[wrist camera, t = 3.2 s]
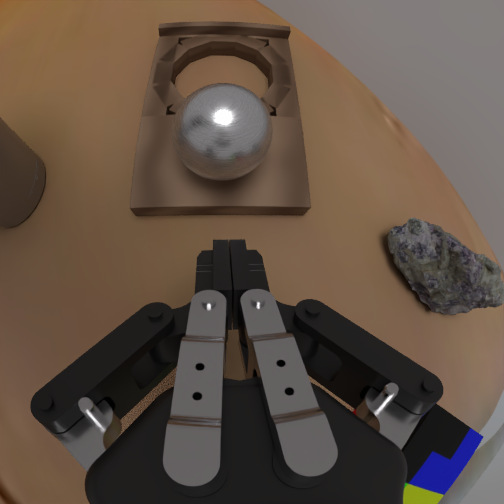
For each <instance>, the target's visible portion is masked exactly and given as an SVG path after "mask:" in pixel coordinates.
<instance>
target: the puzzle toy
mask: <svg viewBox="0 0 504 504" xmlns="http://www.w3.org/2000/svg"><path fill="white" fill-rule="evenodd" d="M353 413H354V414H355V415H356V409H355V410H354V411H353ZM482 438H483V436H481V435H480V434H479V433H477V432H476V431H474V430H473V429H472V428H470V427H469V426H467V425H466V424H464V423H463V422H462V421H460V420H459V419H457V418H456V417H454V416H453V415H452V414H450V413H449V412H447V411H446V410H445V409H443V408H442V407H440V406H439V405H437V404H435V405H434V406H433V407H432V408H431V409H430V410H428V411H427V412H426V413H425V414H424V415H423V416H422V417H421V418H420V420H419V421H418V423H417V425H416V427H415V428H414V430H413V432H412V433H411V435H410V437H409V438H408V440H407V442H406V443H405V445H404V446H403V448H402V450H401V451H402V452H403V454H404V456H405V458H406V462H407V478H406V482H405V486H404V493H403V504H437V503H438V502H439V501H440V499H441V498H442V497H443V496H444V494H445V493H446V492H447V491H448V489H449V488H450V487H451V485H452V484H453V483H454V481H455V480H456V478H457V477H458V476H459V474H460V473H461V471H462V470H463V469H464V467H465V466H466V464H467V463H468V461H469V460H470V458H471V457H472V455H473V453H474V452H475V450H476V449H477V447H478V445H479V443H480V442H481V440H482Z"/></svg>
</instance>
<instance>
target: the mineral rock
mask: <svg viewBox="0 0 504 504" xmlns="http://www.w3.org/2000/svg"><path fill="white" fill-rule="evenodd" d="M387 241H388V246H389V250H390V253H391V254H393V257H394V263H395V265H396V266H397V267H398V269H399V270H400V271H401V272H402V273H403V274H404V276H405V278H406V279H407V280H408V282H409V284H410V286H411V288H412V290H414V291H416V292H417V293H418V294H419V297H420V300H421V301H422V302H423V303H426V304H427V305H428V306H429V307H430V309H431V310H432V311H433V312H439V311H440V312H441V313H443V314H449V315H453V314H454V315H455V314H457V313H467V312H469V311H470V310H472V309H474V308H478V307H479V308H486V307H488V306H489V307H498V306H500V305H502V304H503V303H504V283H503V281H502V279H501V278H500V274H501V270H502V269H501V268H500V267H499V266H498V265H497V264H496V263H495V262H493V261H491V260H490V259H489V258H487V257H486V256H485V255H483V254H475V253H474V252H473V251H471V250H469V249H468V248H467V247H466V246H465V245H463V244H462V243H461V242H460V241H459V240H458V239H457V238H455V237H454V236H453V235H451V234H450V233H447V232H444V231H443V229H442V228H441V227H440V226H436V225H434V224H432V225H431V224H429V223H428V222H425V221H422V220H419V219H416V218H410V219H409V220H408V221H407V223H406V224H404V225H403V226H399V227H397V226H395V227H393V228H392V229H391V230H390V232H389V234H388V237H387Z"/></svg>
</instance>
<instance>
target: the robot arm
mask: <svg viewBox="0 0 504 504" xmlns="http://www.w3.org/2000/svg"><path fill="white" fill-rule="evenodd" d="M44 185H45V168H44V164H43V162H42V160H41V159H40V158H39V157H38V156H37V155H36V154H35V153H34V152H33V151H32V150H31V149H30V148H29V147H28V146H27V145H26V144H25V142H24V141H23V140H22V139H21V138H20V137H19V136H18V135H17V134H16V133H15V132H14V131H13V130H12V129H11V128H10V127H9V126H8V125H7V124H6V123H5V122H4V121H3V120H2V119H1V117H0V226H1V227H5V228H8V227H13V226H16V225H18V224H20V223H21V222H23V221H24V220H25V219H26V218H27V217H28V216H29V215H30V214H31V213H32V211H33V210H34V209H35V207H36V205H37V204H38V202H39V200H40V197H41V195H42V192H43V188H44ZM232 322H233V329H238V331H239V348H240V354H241V359H242V364H243V369H244V373H245V379H246V380H242V381H238V380H232V379H226V378H225V377H226V342H227V340H228V330H232ZM176 366H177V371H176V378H175V385H174V387H172V388H170V389H168V390H166V391H164V392H163V393H162V394H160V395H159V396H158V397H157V398H156V399H155V400H154V401H153V402H152V403H151V404H150V405H149V406H148V407H147V408H146V409H145V410H144V411H143V412H142V414H141V415H140V416H139V417H138V418H137V419H136V420H135V421H134V422H133V423H132V424H131V425H130V426H129V427H128V428H127V429H126V430H125V431H124V432H123V433H122V434H121V435H120V433H121V429H122V425H121V421H120V420H121V419H122V418H123V417H124V416H125V415H126V414H127V413H128V412H129V411H130V410H131V409H132V408H133V407H134V406H136V405H137V404H138V403H139V402H140V401H141V400H142V399H143V398H144V397H145V396H146V395H147V394H148V393H149V392H150V391H151V390H152V389H153V388H154V387H155V386H157V385H158V384H159V383H160V382H161V381H162V380H163V379H164V378H165V377H166V376H167V375H168V374H169V373H170V372H171V371H172V370H173V369H174V368H175V367H176ZM307 374H308V375H309V376H310V377H312V378H313V379H314V380H316V381H317V382H318V383H320V384H321V385H322V386H324V387H325V388H326V389H328V390H329V391H331V392H332V393H333V394H335V395H336V396H338V397H339V398H340V399H342V400H343V401H344V402H346V403H347V404H349V405H350V406H352V407H353V408H354V409H356V415H355V414H354V413H353V412H351V411H350V410H349V409H347V408H346V407H345V406H344V405H342V404H341V403H340V402H338V401H337V400H336V399H334V398H333V397H332V396H331V395H329V394H328V393H327V392H326V391H324V390H323V389H322V388H320V387H318V386H317V385H315V384H313V383H311V382H310V380H309V377H308V375H307ZM442 395H443V385H442V383H441V381H440V379H439V378H438V377H437V376H436V375H434V374H433V373H431V372H429V371H428V370H426V369H425V368H423V367H422V366H420V365H418V364H417V363H415V362H414V361H412V360H411V359H409V358H408V357H406V356H404V355H403V354H401V353H400V352H398V351H397V350H395V349H393V348H392V347H390V346H389V345H387V344H386V343H384V342H383V341H381V340H379V339H378V338H376V337H375V336H373V335H372V334H370V333H368V332H367V331H365V330H364V329H362V328H361V327H359V326H358V325H356V324H354V323H353V322H351V321H350V320H348V319H347V318H345V317H344V316H342V315H340V314H339V313H337V312H336V311H334V310H333V309H331V308H330V307H328V306H326V305H325V304H323V303H322V302H320V301H317V300H313V299H306V300H303V301H300V302H299V303H298V304H297V305H296V306H290V305H286V304H282V303H280V302H278V301H276V300H275V298H274V296H273V295H272V294H271V293H270V291H269V286H268V282H267V277H266V273H265V268H264V265H263V259H262V256H261V255H260V254H259V253H258V252H257V250H246V244H245V240H229V242H228V240H213V250H206V251H201V253H200V254H199V255H198V257H197V268H196V283H195V295H194V296H193V298H192V300H191V302H190V303H188V304H187V305H185V306H183V307H180V308H176V309H171V307H170V306H168V305H167V304H164V303H160V302H155V303H150V304H148V305H146V306H144V307H143V308H141V309H140V310H139V311H138V312H136V313H135V314H134V315H132V316H131V317H130V318H129V319H127V320H126V321H125V322H123V323H122V324H121V325H120V326H118V327H117V328H116V329H115V330H113V331H112V332H111V333H109V334H108V335H107V336H106V337H104V338H103V339H102V340H101V341H99V342H98V343H97V344H96V345H94V346H93V347H92V348H91V349H89V350H88V351H87V352H86V353H84V354H83V355H82V356H81V357H79V358H78V359H77V360H76V361H74V362H73V363H72V364H71V365H69V366H68V367H67V368H66V369H64V370H63V371H62V372H61V373H59V374H58V375H57V376H56V377H55V378H53V379H52V380H51V381H50V382H48V383H47V384H46V385H45V386H44V387H42V388H41V389H40V390H39V391H37V392H36V393H35V395H34V396H33V398H32V400H31V412H32V414H33V416H34V417H35V418H36V419H37V420H38V421H39V422H40V423H41V424H42V425H43V426H44V427H45V428H46V429H47V430H48V431H49V432H50V433H51V434H52V435H53V436H55V437H56V438H57V439H58V440H59V441H61V442H62V444H63V445H64V446H65V447H66V448H67V450H68V451H69V452H70V453H71V454H72V456H73V457H74V458H75V459H76V460H77V461H78V462H79V463H80V465H81V466H82V467H83V468H84V469H85V470H86V471H87V474H86V478H85V491H86V496H87V499H88V501H89V503H90V504H403V493H404V486H405V482H406V478H407V462H406V458H405V456H404V454H403V452H402V451H401V450H402V448H403V446H404V445H405V443H406V442H407V440H408V438H409V437H410V435H411V433H412V432H413V430H414V428H415V427H416V425H417V423H418V421H419V420H420V418H421V417H422V416H423V415H424V414H425V413H426V412H427V411H428V410H430V409H431V408H432V407H433V406H434V405H435V404H436V403H437V402H438V401H439V400H440V398H441V397H442ZM119 435H120V436H119Z"/></svg>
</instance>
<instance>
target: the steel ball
mask: <svg viewBox="0 0 504 504" xmlns="http://www.w3.org/2000/svg"><path fill="white" fill-rule="evenodd" d="M272 136H273V125H272V120H271V116H270V113H269V111H268V109H267V107H266V106H265V104H264V103H263V101H262V100H261V99H260V98H259V97H258V96H257V95H255V94H254V93H253V92H252V91H250V90H248V89H246V88H244V87H242V86H239V85H235V84H230V83H217V84H211V85H207V86H204V87H202V88H200V89H198V90H196V91H195V92H193V93H192V94H191V95H189V96H188V97H187V98H186V99H185V100H184V101H183V103H182V104H181V105H180V107H179V108H178V110H177V112H176V114H175V117H174V120H173V124H172V141H173V145H174V149H175V151H176V153H177V155H178V157H179V158H180V160H181V161H182V163H183V164H184V165H185V166H186V167H187V168H188V169H190V170H191V171H192V172H194V173H195V174H197V175H199V176H201V177H204V178H207V179H211V180H220V181H222V180H231V179H236V178H239V177H241V176H244V175H246V174H247V173H249V172H251V171H252V170H253V169H255V168H256V167H257V166H258V165H259V164H260V163H261V162H262V161H263V159H264V158H265V156H266V154H267V152H268V150H269V148H270V145H271V142H272Z"/></svg>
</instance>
